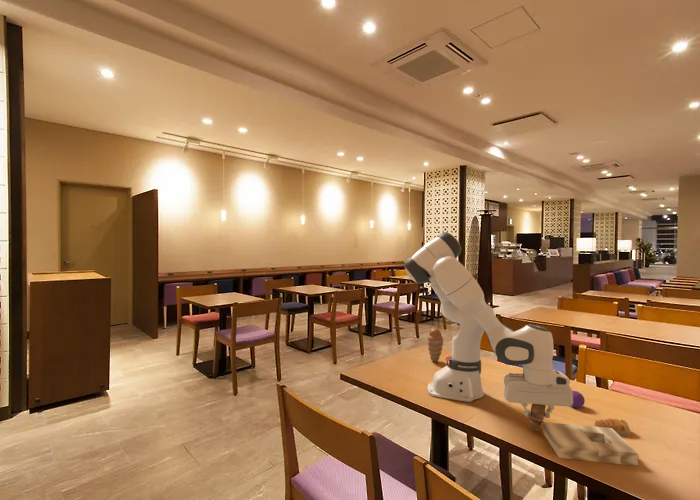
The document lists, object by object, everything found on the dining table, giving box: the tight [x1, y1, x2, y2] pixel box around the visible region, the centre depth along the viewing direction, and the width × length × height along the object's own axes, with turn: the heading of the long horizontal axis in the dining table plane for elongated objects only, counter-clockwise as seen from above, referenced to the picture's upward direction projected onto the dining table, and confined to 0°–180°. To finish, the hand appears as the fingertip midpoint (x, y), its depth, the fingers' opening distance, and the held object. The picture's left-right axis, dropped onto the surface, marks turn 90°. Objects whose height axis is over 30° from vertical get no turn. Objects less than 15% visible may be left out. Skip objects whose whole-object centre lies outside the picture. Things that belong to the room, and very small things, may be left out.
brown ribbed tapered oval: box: [427, 326, 444, 363], centre depth 188 cm, size 9×8×18 cm
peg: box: [528, 404, 547, 431], centre depth 119 cm, size 4×4×8 cm
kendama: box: [570, 390, 586, 409], centre depth 143 cm, size 6×6×20 cm
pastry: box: [593, 417, 631, 437], centre depth 119 cm, size 9×7×4 cm
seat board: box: [542, 421, 639, 467], centre depth 109 cm, size 20×14×4 cm
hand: (537, 416), depth 118 cm, fingers closed on peg, 4 cm apart
